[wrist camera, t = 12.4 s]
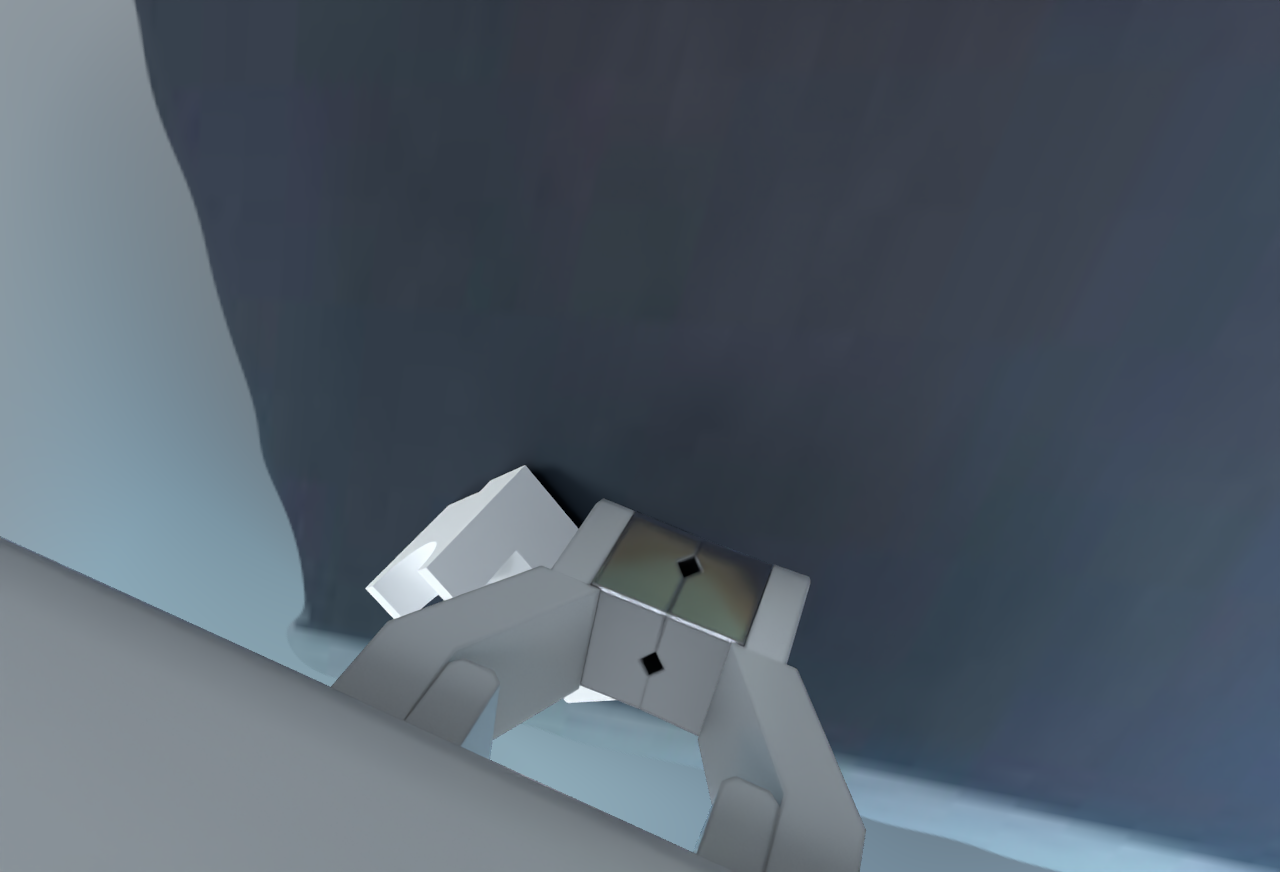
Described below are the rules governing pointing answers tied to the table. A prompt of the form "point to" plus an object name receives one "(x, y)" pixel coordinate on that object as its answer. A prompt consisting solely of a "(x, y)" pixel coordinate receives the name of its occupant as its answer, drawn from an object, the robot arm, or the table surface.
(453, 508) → the bracket
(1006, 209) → the table surface
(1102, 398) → the table surface
